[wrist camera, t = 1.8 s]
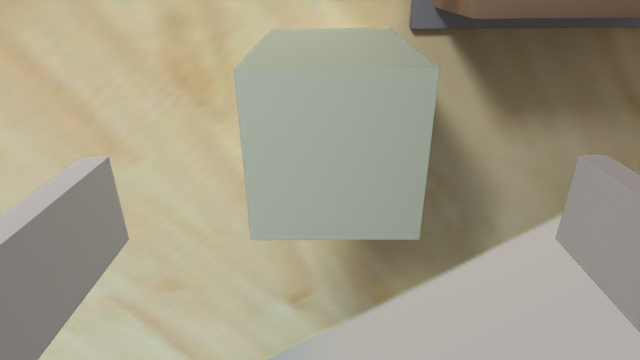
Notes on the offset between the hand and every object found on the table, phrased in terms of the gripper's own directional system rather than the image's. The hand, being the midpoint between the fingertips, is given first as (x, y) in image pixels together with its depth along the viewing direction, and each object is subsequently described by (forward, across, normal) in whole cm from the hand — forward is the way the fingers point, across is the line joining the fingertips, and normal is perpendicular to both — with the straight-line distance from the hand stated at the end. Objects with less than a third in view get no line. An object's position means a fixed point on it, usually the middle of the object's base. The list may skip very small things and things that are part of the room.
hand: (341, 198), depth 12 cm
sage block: (+12, 0, 0) cm, 12 cm away
